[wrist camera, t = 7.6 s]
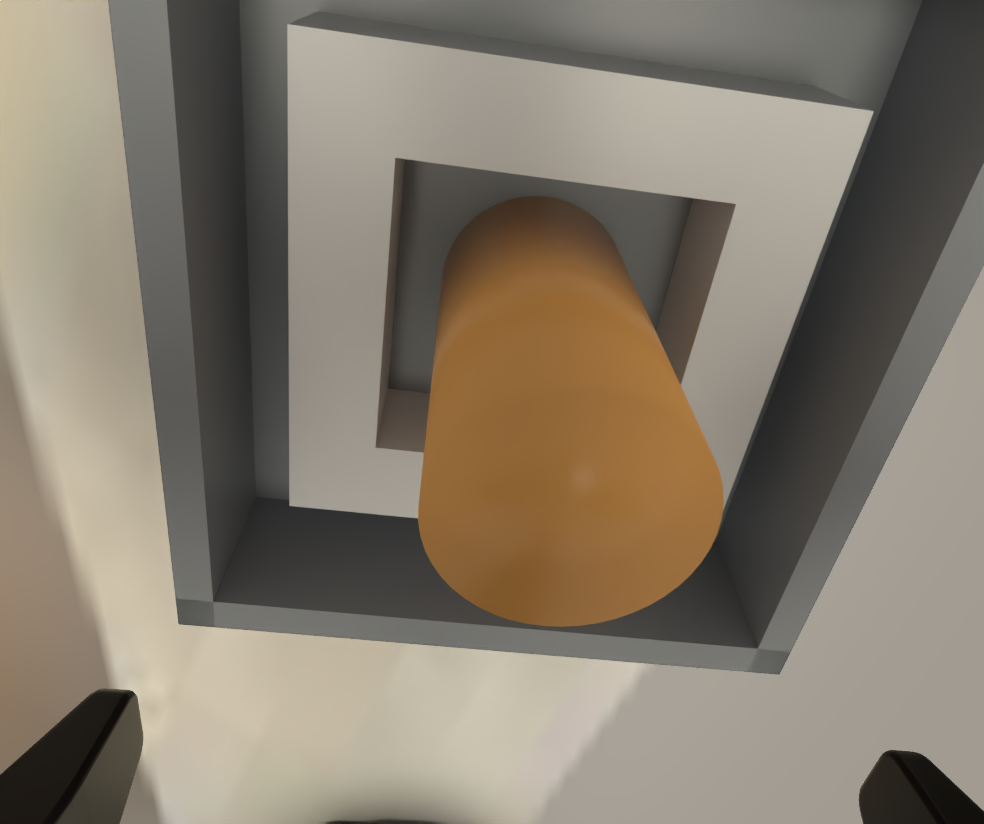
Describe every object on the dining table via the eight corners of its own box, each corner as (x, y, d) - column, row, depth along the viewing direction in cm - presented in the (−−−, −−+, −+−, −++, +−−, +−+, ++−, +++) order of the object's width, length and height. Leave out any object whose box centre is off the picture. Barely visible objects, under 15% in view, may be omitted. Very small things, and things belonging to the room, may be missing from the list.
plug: (602, 375, 18) (678, 637, 11) (433, 356, 18) (407, 614, 11) (642, 209, 16) (765, 407, 9) (452, 184, 16) (432, 369, 9)
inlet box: (727, 547, 22) (779, 674, 18) (234, 498, 21) (179, 624, 17) (965, -58, 14) (1144, -58, 10) (198, -188, 13) (80, -242, 9)
